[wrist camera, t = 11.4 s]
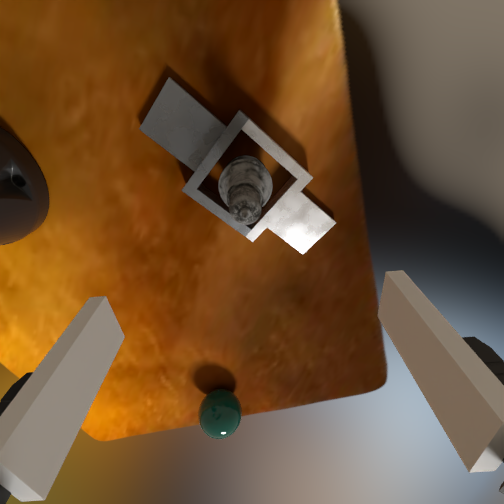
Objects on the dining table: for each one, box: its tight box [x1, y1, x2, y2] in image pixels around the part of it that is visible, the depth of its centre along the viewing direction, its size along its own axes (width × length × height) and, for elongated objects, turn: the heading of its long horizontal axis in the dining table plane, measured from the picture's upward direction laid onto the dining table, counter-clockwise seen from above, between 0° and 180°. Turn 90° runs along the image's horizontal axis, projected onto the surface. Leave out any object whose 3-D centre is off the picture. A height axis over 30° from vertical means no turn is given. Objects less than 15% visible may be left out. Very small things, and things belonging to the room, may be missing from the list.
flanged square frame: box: [139, 77, 336, 254], centre depth 32 cm, size 24×10×2 cm, turn 50°
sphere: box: [198, 389, 242, 439], centre depth 51 cm, size 8×8×8 cm
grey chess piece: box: [218, 155, 273, 225], centre depth 27 cm, size 6×6×12 cm
